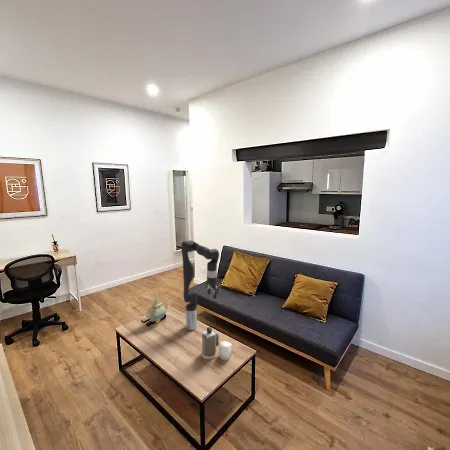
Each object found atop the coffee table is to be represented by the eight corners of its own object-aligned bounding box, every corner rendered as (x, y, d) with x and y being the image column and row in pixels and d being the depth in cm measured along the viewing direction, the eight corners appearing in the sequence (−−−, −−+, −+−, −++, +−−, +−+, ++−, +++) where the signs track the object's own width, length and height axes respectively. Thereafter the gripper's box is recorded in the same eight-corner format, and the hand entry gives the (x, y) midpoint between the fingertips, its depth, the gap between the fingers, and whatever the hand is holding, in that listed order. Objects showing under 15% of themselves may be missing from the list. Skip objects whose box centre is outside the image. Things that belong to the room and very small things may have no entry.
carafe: (199, 352, 182) (198, 331, 179) (214, 346, 189) (214, 326, 186) (206, 361, 173) (206, 339, 170) (221, 354, 179) (222, 333, 177)
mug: (216, 355, 179) (217, 343, 178) (228, 350, 184) (228, 339, 183) (223, 361, 172) (223, 349, 171) (234, 356, 178) (235, 344, 176)
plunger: (205, 350, 180) (205, 328, 178) (210, 348, 182) (210, 326, 180) (208, 353, 177) (208, 330, 175) (212, 351, 179) (212, 329, 177)
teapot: (150, 331, 207) (149, 297, 203) (142, 327, 214) (140, 293, 209) (172, 319, 226) (171, 288, 222) (164, 315, 233) (163, 285, 228)
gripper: (202, 273, 188) (203, 294, 191) (212, 279, 177) (212, 301, 179) (211, 272, 192) (211, 292, 195) (221, 277, 181) (221, 298, 183)
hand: (211, 296), depth 187 cm, fingers open, 8 cm apart
